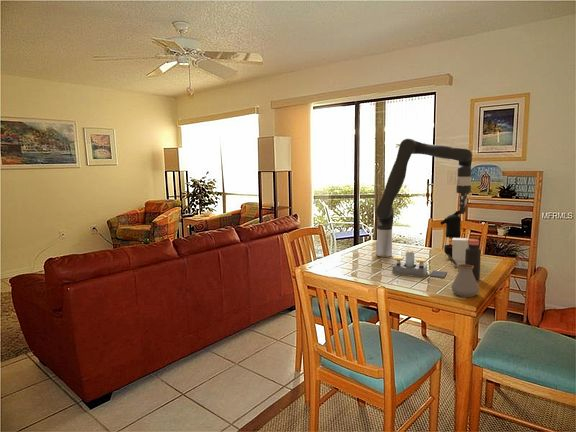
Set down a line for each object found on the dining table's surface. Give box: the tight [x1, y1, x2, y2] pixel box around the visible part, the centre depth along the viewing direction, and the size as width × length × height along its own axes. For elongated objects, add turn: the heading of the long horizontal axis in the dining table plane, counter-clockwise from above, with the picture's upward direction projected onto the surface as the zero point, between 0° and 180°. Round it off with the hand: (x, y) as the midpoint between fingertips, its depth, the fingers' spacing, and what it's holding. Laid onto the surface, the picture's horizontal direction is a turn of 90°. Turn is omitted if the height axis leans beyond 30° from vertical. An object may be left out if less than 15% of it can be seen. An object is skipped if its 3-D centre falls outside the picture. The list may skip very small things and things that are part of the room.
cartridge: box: [405, 250, 415, 268], centre depth 200 cm, size 4×4×12 cm
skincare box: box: [451, 237, 469, 268], centre depth 211 cm, size 8×7×16 cm
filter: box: [440, 209, 462, 257], centre depth 226 cm, size 14×9×30 cm
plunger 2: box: [415, 257, 428, 268], centre depth 197 cm, size 4×4×5 cm
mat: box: [429, 270, 448, 279], centre depth 196 cm, size 7×10×1 cm
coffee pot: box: [444, 253, 480, 298], centre depth 171 cm, size 21×12×15 cm, turn 7°
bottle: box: [465, 238, 482, 282], centre depth 186 cm, size 7×7×20 cm
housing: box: [391, 261, 428, 278], centre depth 201 cm, size 16×10×4 cm, turn 60°
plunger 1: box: [392, 255, 405, 265], centre depth 203 cm, size 4×4×5 cm
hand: (462, 212), depth 214 cm, fingers open, 8 cm apart
